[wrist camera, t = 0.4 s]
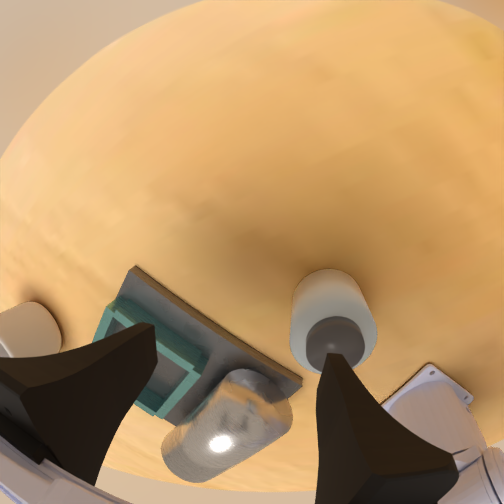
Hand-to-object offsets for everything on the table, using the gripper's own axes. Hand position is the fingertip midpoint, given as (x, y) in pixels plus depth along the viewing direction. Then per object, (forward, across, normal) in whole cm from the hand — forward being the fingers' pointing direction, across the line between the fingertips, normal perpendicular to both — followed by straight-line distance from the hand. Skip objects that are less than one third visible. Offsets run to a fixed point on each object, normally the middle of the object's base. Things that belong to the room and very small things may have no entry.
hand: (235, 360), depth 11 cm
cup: (+10, +24, +10) cm, 28 cm away
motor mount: (+10, +6, +10) cm, 15 cm away
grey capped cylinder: (+10, -5, +1) cm, 11 cm away
